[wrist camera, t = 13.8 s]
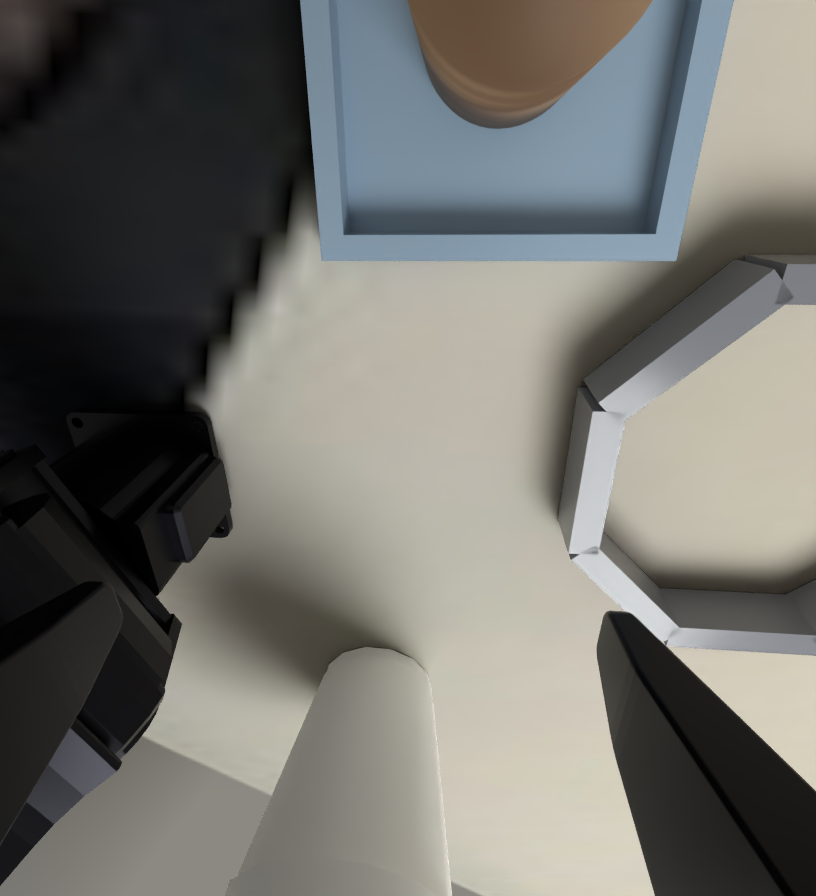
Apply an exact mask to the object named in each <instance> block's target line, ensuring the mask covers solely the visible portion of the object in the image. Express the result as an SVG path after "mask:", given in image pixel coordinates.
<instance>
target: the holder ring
mask: <svg viewBox="0 0 816 896" xmlns="http://www.w3.org/2000/svg"><path fill="white" fill-rule="evenodd" d="M785 304H789V305H816V255H746V256H745V259H744V261H741V260H737V259H734V260H733V261H731V262H730V263H729V264H728V265H726V266H725V267H724V268H723V269H721V270H720V271H719V272H718V273H716V274H715V275H714V276H713V277H711V278H710V279H709V280H708V281H706V282H705V283H704V284H702V285H701V286H700V287H699V288H697V289H696V290H695V291H694V292H692V293H691V294H690V295H689V296H687V297H686V298H685V299H684V300H682V301H681V302H680V303H679V304H677V305H676V306H675V307H673V308H672V309H671V310H670V311H668V312H667V313H666V314H665V315H663V316H662V317H661V318H660V319H658V320H657V321H656V322H655V323H653V324H652V325H651V326H650V327H648V328H647V329H646V330H645V331H643V332H642V333H641V334H639V335H638V336H637V337H636V338H634V339H633V340H632V341H631V342H629V343H628V344H627V345H626V346H624V347H623V348H622V349H621V350H619V351H618V352H617V353H616V354H614V355H613V356H612V357H610V358H609V359H608V360H607V361H605V362H604V363H603V364H602V365H600V366H599V367H598V368H597V369H595V370H594V371H593V372H592V373H590V374H589V375H588V376H587V377H585V378H584V379H583V380H584V382H585V383H586V385H587V386H588V387H578V390H577V397H576V403H575V410H574V417H573V423H572V430H571V436H570V443H569V449H568V456H567V462H566V469H565V475H564V482H563V488H562V495H561V501H560V508H559V514H558V521H559V524H560V527H561V531H562V534H563V537H564V541H565V544H566V547H567V550H568V554H569V556H570V559H571V561H572V562H573V563H575V564H576V565H577V566H578V567H579V568H580V569H581V570H582V571H583V572H584V573H585V574H586V575H587V576H588V577H589V578H590V579H591V580H592V581H594V582H595V583H596V584H597V585H598V586H599V587H600V588H601V589H602V590H603V591H604V592H605V593H606V594H607V595H608V596H609V597H610V598H611V599H613V600H614V601H615V602H616V603H617V604H618V605H619V606H620V607H621V608H622V609H623V610H624V611H625V612H630V613H632V614H633V615H634V616H635V617H637V618H638V619H639V620H640V621H641V622H642V623H643V624H644V625H645V626H646V627H647V628H648V629H649V630H650V631H651V632H652V633H653V634H654V635H655V636H656V637H657V638H658V639H659V640H660V641H661V642H664V643H665V645H666V647H683V648H699V649H715V650H731V651H748V652H764V653H780V654H797V655H813V656H816V579H815V580H813V581H811V582H809V583H807V584H805V585H803V586H801V587H799V588H797V589H795V590H793V591H791V592H789V593H787V594H766V593H747V592H728V591H709V590H689V589H670V588H659V587H658V586H657V585H656V584H655V583H654V582H653V581H652V580H651V579H650V578H649V577H648V576H647V575H646V574H645V573H644V572H643V571H642V570H641V569H640V568H639V567H638V566H637V565H636V564H635V563H634V562H633V561H632V560H631V559H630V558H629V557H628V556H627V555H626V554H625V553H624V552H623V551H622V550H621V549H620V548H619V547H618V546H617V545H616V544H615V543H614V542H613V541H612V540H611V539H610V538H609V537H608V536H607V535H606V534H605V533H604V532H603V529H604V524H605V519H606V514H607V509H608V504H609V499H610V495H611V490H612V485H613V480H614V475H615V470H616V465H617V461H618V456H619V451H620V446H621V441H622V436H623V432H624V427H625V422H626V420H627V419H628V418H630V417H631V416H632V415H634V414H635V413H637V412H638V411H639V410H641V409H642V408H643V407H645V406H646V405H648V404H649V403H650V402H652V401H653V400H654V399H656V398H657V397H659V396H660V395H661V394H663V393H664V392H665V391H667V390H668V389H670V388H671V387H672V386H674V385H675V384H676V383H678V382H679V381H681V380H682V379H683V378H685V377H686V376H687V375H689V374H690V373H692V372H693V371H694V370H696V369H697V368H698V367H700V366H701V365H703V364H704V363H705V362H707V361H708V360H709V359H711V358H712V357H714V356H715V355H716V354H718V353H719V352H720V351H722V350H723V349H725V348H726V347H727V346H729V345H730V344H731V343H733V342H734V341H736V340H737V339H738V338H740V337H741V336H742V335H744V334H745V333H747V332H748V331H749V330H751V329H752V328H753V327H755V326H756V325H758V324H759V323H760V322H762V321H763V320H764V319H766V318H767V317H769V316H770V315H771V314H773V313H774V312H775V311H777V310H778V309H780V308H781V307H782V306H784V305H785Z"/></svg>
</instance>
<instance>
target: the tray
mask: <svg viewBox="0 0 816 896" xmlns="http://www.w3.org/2000/svg"><path fill="white" fill-rule="evenodd" d="M733 2H734V0H653V1H652V2H651V4H650V5H649V7H648V8H647V10H646V11H645V13H644V14H643V16H642V17H641V18H640V19H639V21H638V22H637V23H636V24H635V26H634V27H633V28H632V29H631V30H630V32H629V33H628V34H627V35H626V36H625V37H624V38H623V39H622V40H621V41H620V42H619V43H618V44H617V45H616V46H615V47H614V48H613V49H612V50H611V51H610V52H609V53H607V54H606V55H605V56H604V57H603V58H602V59H601V60H600V61H599V62H598V63H597V64H596V65H595V66H594V67H593V68H592V69H591V70H590V71H589V72H588V73H587V74H586V75H584V76H583V77H582V78H581V79H580V80H579V81H578V82H577V83H576V84H575V85H574V86H573V87H572V88H571V89H570V90H569V91H568V92H567V93H566V94H565V95H564V96H563V97H561V98H560V99H559V100H558V101H557V102H556V103H555V104H554V105H553V106H552V107H551V108H550V109H548V110H547V111H546V112H544V113H543V114H542V115H540V116H539V117H537V118H535V119H533V120H532V121H529V122H527V123H525V124H522V125H519V126H515V127H511V128H503V129H492V128H485V127H480V126H477V125H474V124H472V123H469V122H468V121H466V120H464V119H462V118H460V117H459V116H458V115H457V114H455V113H454V112H453V111H452V110H451V109H450V108H449V107H448V106H447V105H446V104H445V103H444V102H443V101H442V99H441V98H440V97H439V95H438V94H437V92H436V90H435V88H434V87H433V85H432V83H431V80H430V78H429V76H428V73H427V70H426V66H425V63H424V59H423V56H422V52H421V48H420V45H419V41H418V37H417V34H416V30H415V26H414V23H413V19H412V15H411V12H410V8H409V4H408V1H407V0H300V4H301V16H302V28H303V40H304V52H305V65H306V77H307V89H308V101H309V113H310V125H311V137H312V149H313V161H314V174H315V186H316V198H317V210H318V222H319V234H320V246H321V258H322V261H676V260H677V255H678V250H679V246H680V241H681V237H682V232H683V228H684V223H685V219H686V214H687V210H688V205H689V201H690V196H691V192H692V187H693V183H694V178H695V174H696V169H697V165H698V160H699V155H700V151H701V146H702V142H703V137H704V133H705V128H706V124H707V119H708V115H709V110H710V106H711V101H712V97H713V92H714V88H715V83H716V79H717V74H718V70H719V65H720V61H721V56H722V51H723V47H724V42H725V38H726V33H727V29H728V24H729V20H730V15H731V11H732V6H733Z"/></svg>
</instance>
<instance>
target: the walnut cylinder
mask: <svg viewBox="0 0 816 896" xmlns="http://www.w3.org/2000/svg"><path fill="white" fill-rule="evenodd" d="M407 1H408V4H409V8H410V12H411V15H412V19H413V23H414V26H415V30H416V34H417V37H418V41H419V45H420V48H421V52H422V56H423V59H424V63H425V66H426V70H427V73H428V76H429V78H430V80H431V83H432V85H433V87H434V88H435V90H436V92H437V94H438V95H439V97H440V98H441V99H442V101H443V102H444V103H445V104H446V105H447V106H448V107H449V108H450V109H451V110H452V111H453V112H454V113H455V114H457V115H458V116H459V117H460V118H462V119H464V120H466V121H468V122H469V123H472V124H474V125H477V126H480V127H485V128H492V129H503V128H511V127H515V126H519V125H522V124H525V123H527V122H529V121H532V120H533V119H535V118H537V117H539V116H540V115H542V114H543V113H544V112H546V111H547V110H548V109H550V108H551V107H552V106H553V105H554V104H555V103H556V102H557V101H558V100H559V99H560V98H561V97H563V96H564V95H565V94H566V93H567V92H568V91H569V90H570V89H571V88H572V87H573V86H574V85H575V84H576V83H577V82H578V81H579V80H580V79H581V78H582V77H583V76H584V75H586V74H587V73H588V72H589V71H590V70H591V69H592V68H593V67H594V66H595V65H596V64H597V63H598V62H599V61H600V60H601V59H602V58H603V57H604V56H605V55H606V54H607V53H609V52H610V51H611V50H612V49H613V48H614V47H615V46H616V45H617V44H618V43H619V42H620V41H621V40H622V39H623V38H624V37H625V36H626V35H627V34H628V33H629V32H630V30H631V29H632V28H633V27H634V26H635V24H636V23H637V22H638V21H639V19H640V18H641V17H642V16H643V14H644V13H645V11H646V10H647V8H648V7H649V5H650V4H651V2H652V1H653V0H407Z"/></svg>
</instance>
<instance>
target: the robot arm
mask: <svg viewBox="0 0 816 896" xmlns="http://www.w3.org/2000/svg"><path fill="white" fill-rule="evenodd" d="M78 418H79V419H80V420H81V421H82V422H83V424H82V423H81V422H79V420H78ZM66 421H67V425H68V428H69V430H70V433H71V436H72V439H73V442H74V445H75V448H74V449H73V450H71V451H70V452H68V453H67V454H66V455H64V456H63V457H61V458H60V459H58V460H57V461H55V462H54V463H52V464H51V465H48V464H47V463H46V461H45V460H44V458H45V457H46V456H45V455H44V454H43V453H42V451H41V450H40V449H39V448H38V446H37V445H36V444H33V445H31V446H28V447H26V448H24V449H21V450H19V451H17V452H14V450H13V449H11V450H8V451H6V452H4V451H1V452H0V885H1V884H2V883H3V882H4V881H5V880H6V878H7V877H8V876H9V875H10V874H11V873H12V871H13V870H14V869H15V868H16V867H17V866H18V864H19V863H20V862H21V861H22V860H23V859H24V857H25V856H26V855H27V854H28V853H29V851H30V850H31V849H32V848H33V847H34V846H35V845H36V844H37V843H38V841H39V840H40V839H41V838H42V837H43V836H44V835H45V834H46V832H48V830H49V829H50V828H51V827H52V826H53V825H54V824H55V823H56V822H57V821H58V820H59V819H60V818H61V817H62V816H63V815H65V813H67V812H68V811H69V810H70V809H71V808H72V807H73V806H74V805H75V804H76V803H77V802H78V801H79V800H80V799H81V798H83V797H84V796H85V795H86V794H88V793H89V792H90V791H92V790H93V789H94V788H96V787H97V786H98V785H100V784H101V783H102V782H104V781H105V780H106V779H108V778H109V777H110V776H111V775H113V774H114V773H115V772H116V771H117V770H118V769H119V768H120V766H121V764H122V761H121V760H120V759H121V758H122V757H123V756H124V755H125V754H126V753H127V752H128V751H129V750H130V749H131V748H132V747H133V746H134V745H135V743H136V742H137V741H138V740H139V739H140V737H141V736H142V735H143V733H144V732H145V731H146V729H147V728H148V727H149V725H150V723H151V722H152V720H153V718H154V716H155V715H156V713H157V710H158V707H159V705H160V703H161V702H162V700H163V697H164V694H165V684H166V680H167V677H168V673H169V670H170V666H171V662H172V659H173V655H174V651H175V648H176V644H177V640H178V637H179V633H180V629H181V626H182V623H181V622H180V621H179V620H178V618H177V617H176V616H175V615H174V614H170V613H169V612H168V611H167V609H166V608H165V607H164V606H163V605H162V603H161V602H160V601H159V600H158V598H157V597H156V596H157V595H158V594H159V593H160V592H161V591H162V589H163V588H164V587H165V585H166V584H167V583H168V581H169V580H170V578H171V577H172V576H173V574H174V573H175V572H176V570H177V569H178V568H179V566H180V565H181V563H190V562H191V561H192V560H193V559H194V558H195V557H196V555H197V554H198V552H199V551H200V550H201V548H202V547H203V545H204V544H205V543H206V541H207V540H208V538H209V537H215V538H224V537H226V536H228V534H229V533H230V531H231V530H232V528H233V525H232V520H231V515H230V510H229V509H230V508H231V500H230V495H229V490H228V485H227V480H226V475H225V470H224V465H223V461H222V460H221V459H220V458H219V456H218V451H217V447H216V442H215V437H214V432H213V427H212V423H211V420H210V418H209V417H208V416H207V415H205V414H204V413H200V412H177V411H140V410H102V409H76V410H74V411H73V412H71V413H69V414H68V415H67V418H66ZM195 421H198V422H199V423H201V425H202V428H201V427H198V426H197V425H196V423H195ZM218 525H220V526H222V527H223V528H224V529H222V528H220V527H219V526H218ZM597 660H598V665H599V671H600V677H601V683H602V688H603V694H604V700H605V706H606V711H607V717H608V723H609V729H610V734H611V739H612V744H613V749H614V753H615V757H616V761H617V765H618V768H619V772H620V775H621V779H622V782H623V786H624V789H625V792H626V796H627V799H628V803H629V806H630V810H631V813H632V817H633V820H634V824H635V827H636V831H637V834H638V838H639V841H640V845H641V848H642V852H643V855H644V859H645V862H646V866H647V869H648V873H649V876H650V880H651V883H652V887H653V890H654V894H655V896H816V791H815V790H814V789H813V788H812V787H811V786H810V785H809V784H808V783H807V782H806V781H805V780H804V779H803V778H802V777H801V776H800V775H799V774H798V773H797V772H796V771H795V770H794V769H793V768H791V767H790V766H789V765H788V764H787V763H786V762H785V761H784V760H783V759H782V758H781V757H780V756H779V755H778V754H777V753H776V752H775V751H774V750H773V749H772V748H771V747H770V746H769V745H768V744H767V743H766V742H765V741H764V740H763V739H762V738H760V737H759V736H758V735H757V734H756V733H755V732H754V731H753V730H752V729H751V728H750V727H749V726H748V725H747V724H746V723H745V722H744V721H743V720H742V719H741V718H740V717H739V716H738V715H737V714H736V713H735V712H734V711H733V710H732V709H731V708H729V707H728V706H727V705H726V704H725V703H724V702H723V701H722V700H721V699H720V698H719V697H718V696H717V695H716V694H715V693H714V692H713V691H712V690H711V689H710V688H709V687H708V686H707V685H706V684H705V683H704V682H703V681H702V680H701V679H700V678H699V677H697V676H696V675H695V674H694V673H693V672H692V671H691V670H690V669H689V668H688V667H687V666H686V665H685V664H684V663H683V662H682V661H681V660H680V659H679V658H678V657H677V656H676V655H675V654H674V653H673V652H672V651H671V650H670V649H669V648H668V647H666V646H665V645H664V644H663V643H662V642H661V641H660V640H659V639H658V638H657V637H656V636H655V635H654V634H653V633H652V632H651V631H650V630H649V629H648V628H647V627H646V626H645V625H644V624H643V623H642V622H641V621H640V620H639V619H638V618H637V617H635V616H634V615H633V614H632V613H630V612H622V611H607V612H606V613H605V614H604V617H603V621H602V625H601V629H600V634H599V638H598V642H597Z"/></svg>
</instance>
